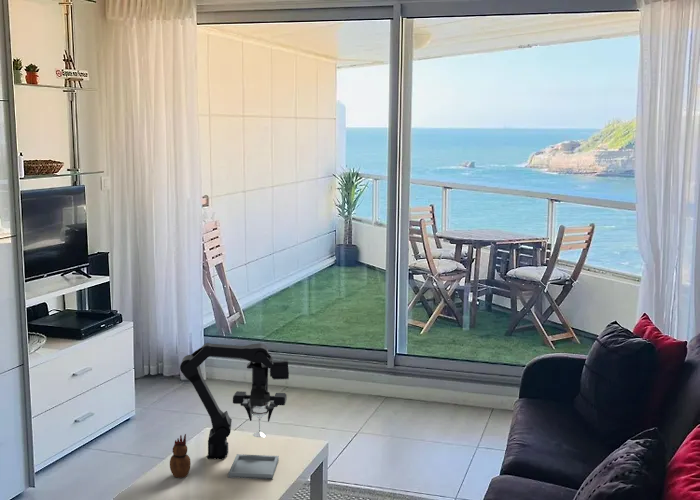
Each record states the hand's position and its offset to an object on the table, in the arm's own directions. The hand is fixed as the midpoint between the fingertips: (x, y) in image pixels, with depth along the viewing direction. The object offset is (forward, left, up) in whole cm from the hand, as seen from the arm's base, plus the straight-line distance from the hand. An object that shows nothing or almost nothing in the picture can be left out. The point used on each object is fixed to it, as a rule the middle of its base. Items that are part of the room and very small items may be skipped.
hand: (259, 420), depth 276 cm
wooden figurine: (-24, -19, -13) cm, 33 cm away
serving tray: (0, -12, -13) cm, 17 cm away
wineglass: (0, 0, -5) cm, 5 cm away
